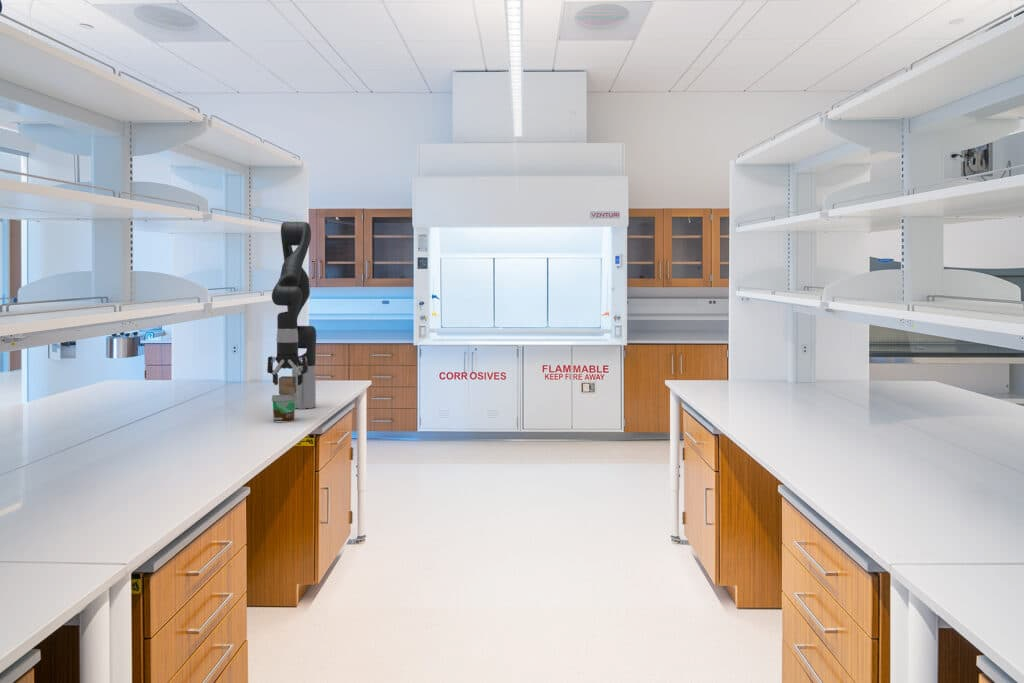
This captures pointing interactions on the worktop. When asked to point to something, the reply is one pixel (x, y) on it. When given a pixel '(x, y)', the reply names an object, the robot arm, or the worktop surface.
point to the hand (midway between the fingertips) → (287, 384)
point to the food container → (284, 407)
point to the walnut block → (287, 385)
